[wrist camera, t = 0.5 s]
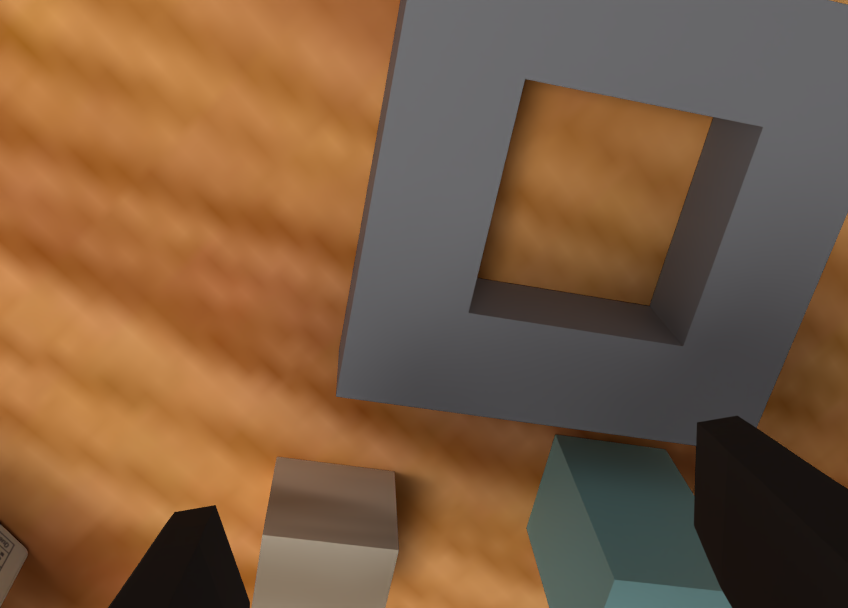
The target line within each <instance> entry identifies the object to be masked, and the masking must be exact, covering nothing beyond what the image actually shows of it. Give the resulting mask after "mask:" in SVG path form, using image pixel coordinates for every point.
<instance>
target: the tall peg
mask: <svg viewBox="0 0 848 608" xmlns="http://www.w3.org/2000/svg"><path fill="white" fill-rule="evenodd" d="M694 499H695V496H694V495H693V493H692V491H691V490H690V488H689V487H688V485H687V483H686V482H685V480H684V479H683V477H682V475H681V474H680V472H679V470H678V469H677V467H676V466H675V464H674V462H673V461H672V459H671V458H670V456H669V454H668V453H667V451H666V450H665V449H659V448H652V447H644V446H637V445H629V444H622V443H615V442H607V441H600V440H592V439H585V438H578V437H570V436H563V435H555V437H554V441H553V444H552V447H551V450H550V454H549V457H548V460H547V463H546V467H545V470H544V473H543V476H542V479H541V483H540V486H539V489H538V492H537V496H536V499H535V502H534V505H533V509H532V512H531V515H530V518H529V522H528V525H527V532H528V535H529V539H530V542H531V546H532V549H533V553H534V556H535V559H536V563H537V566H538V570H539V573H540V577H541V580H542V584H543V587H544V591H545V594H546V598H547V601H548V604H549V608H732V607H731V605H730V603H729V602H728V600H727V598H726V596H725V595H724V593H723V591H722V589H721V588H720V585H719V583H718V581H717V579H716V576H715V574H714V572H713V570H712V567H711V565H710V563H709V561H708V558H707V556H706V553H705V551H704V549H703V546H702V544H701V541H700V539H699V537H698V534H697V532H696V529H695V527H694Z"/></svg>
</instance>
